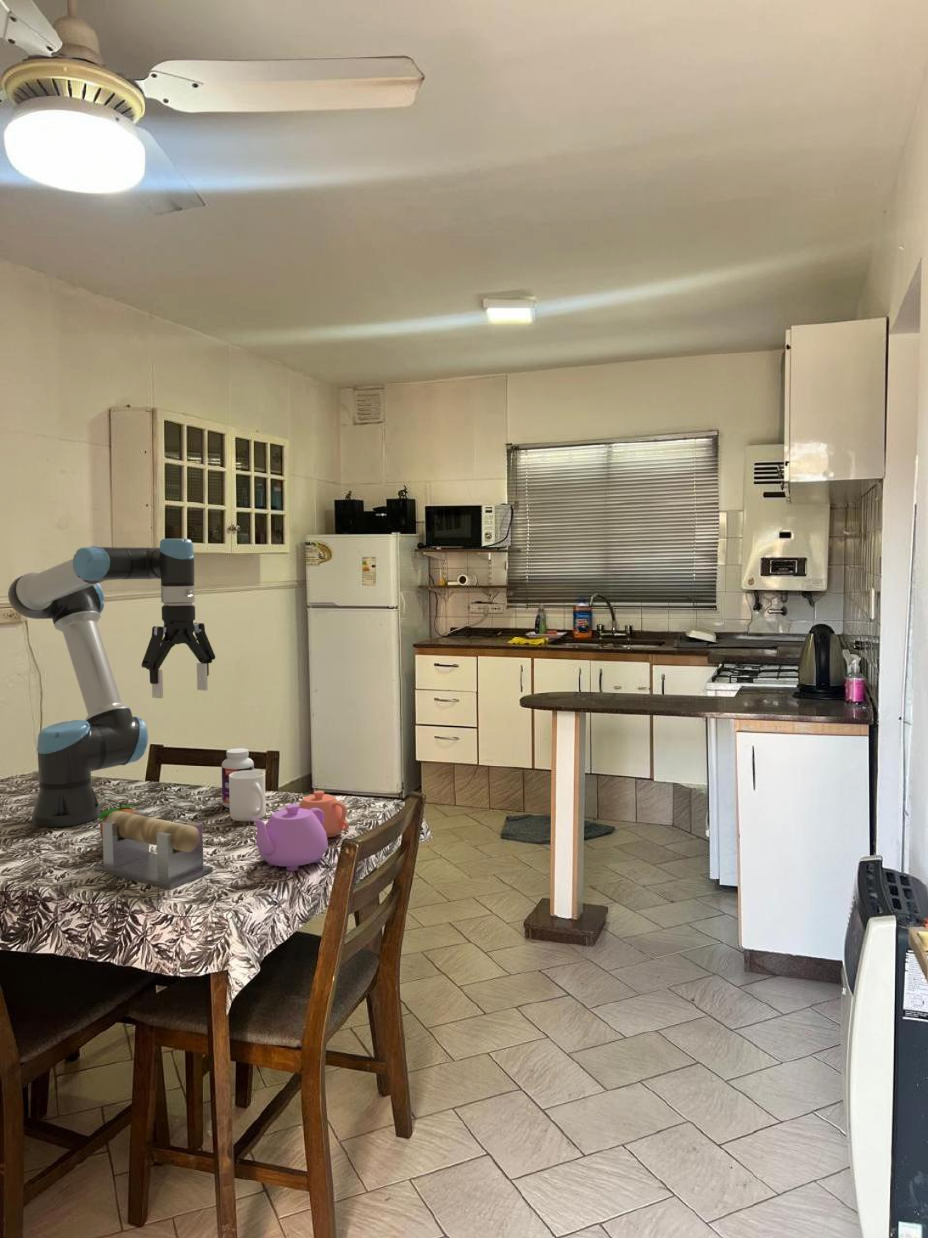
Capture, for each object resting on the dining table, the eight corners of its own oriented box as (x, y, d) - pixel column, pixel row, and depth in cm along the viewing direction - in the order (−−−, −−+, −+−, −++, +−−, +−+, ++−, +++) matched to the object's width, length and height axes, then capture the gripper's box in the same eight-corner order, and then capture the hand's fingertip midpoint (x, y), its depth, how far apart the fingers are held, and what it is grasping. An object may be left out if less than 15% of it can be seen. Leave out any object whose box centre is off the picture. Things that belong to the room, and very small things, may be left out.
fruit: (150, 846, 192) (149, 802, 192) (108, 857, 185) (106, 811, 185) (133, 838, 198) (132, 794, 198) (91, 847, 192) (90, 803, 191)
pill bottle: (221, 810, 220) (220, 754, 219) (222, 802, 227) (221, 748, 226) (254, 808, 221) (253, 752, 221) (254, 800, 229) (253, 746, 228)
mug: (245, 827, 206) (244, 783, 205) (223, 816, 215) (222, 773, 214) (278, 820, 211) (277, 777, 210) (255, 810, 220) (254, 768, 220)
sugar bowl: (313, 824, 208) (312, 782, 207) (363, 832, 202) (362, 788, 201) (281, 839, 197) (280, 795, 196) (332, 847, 191) (331, 802, 190)
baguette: (104, 837, 179) (104, 813, 179) (124, 832, 183) (125, 808, 183) (179, 855, 168) (179, 829, 168) (199, 848, 172) (199, 823, 172)
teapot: (276, 885, 168) (275, 824, 168) (229, 870, 177) (228, 811, 176) (348, 857, 184) (347, 801, 184) (302, 844, 193) (301, 790, 192)
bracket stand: (94, 870, 177) (93, 822, 177) (138, 854, 187) (137, 808, 186) (169, 889, 166) (168, 838, 166) (212, 872, 176) (211, 823, 175)
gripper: (146, 607, 191) (148, 702, 193) (228, 602, 213) (230, 688, 214) (123, 606, 195) (126, 700, 196) (206, 601, 217) (208, 686, 218)
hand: (180, 694), depth 205 cm, fingers open, 13 cm apart
